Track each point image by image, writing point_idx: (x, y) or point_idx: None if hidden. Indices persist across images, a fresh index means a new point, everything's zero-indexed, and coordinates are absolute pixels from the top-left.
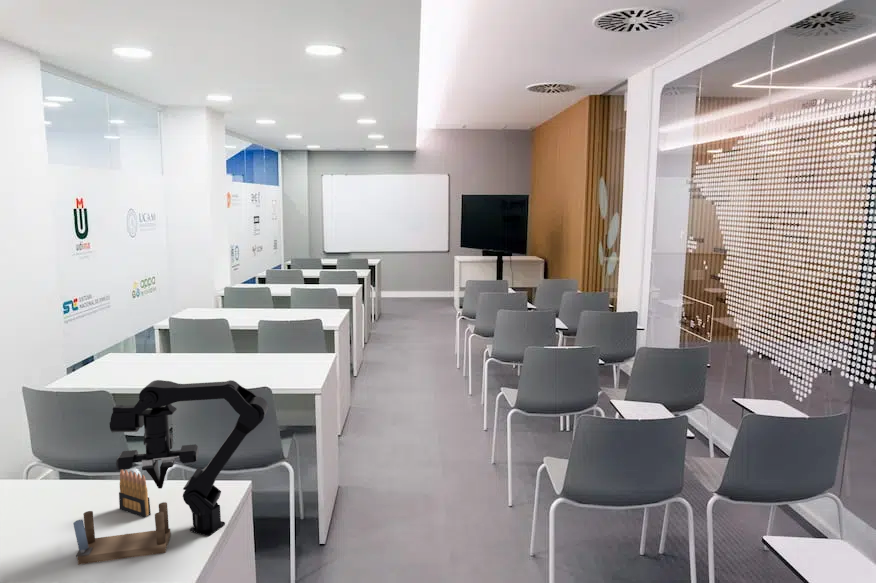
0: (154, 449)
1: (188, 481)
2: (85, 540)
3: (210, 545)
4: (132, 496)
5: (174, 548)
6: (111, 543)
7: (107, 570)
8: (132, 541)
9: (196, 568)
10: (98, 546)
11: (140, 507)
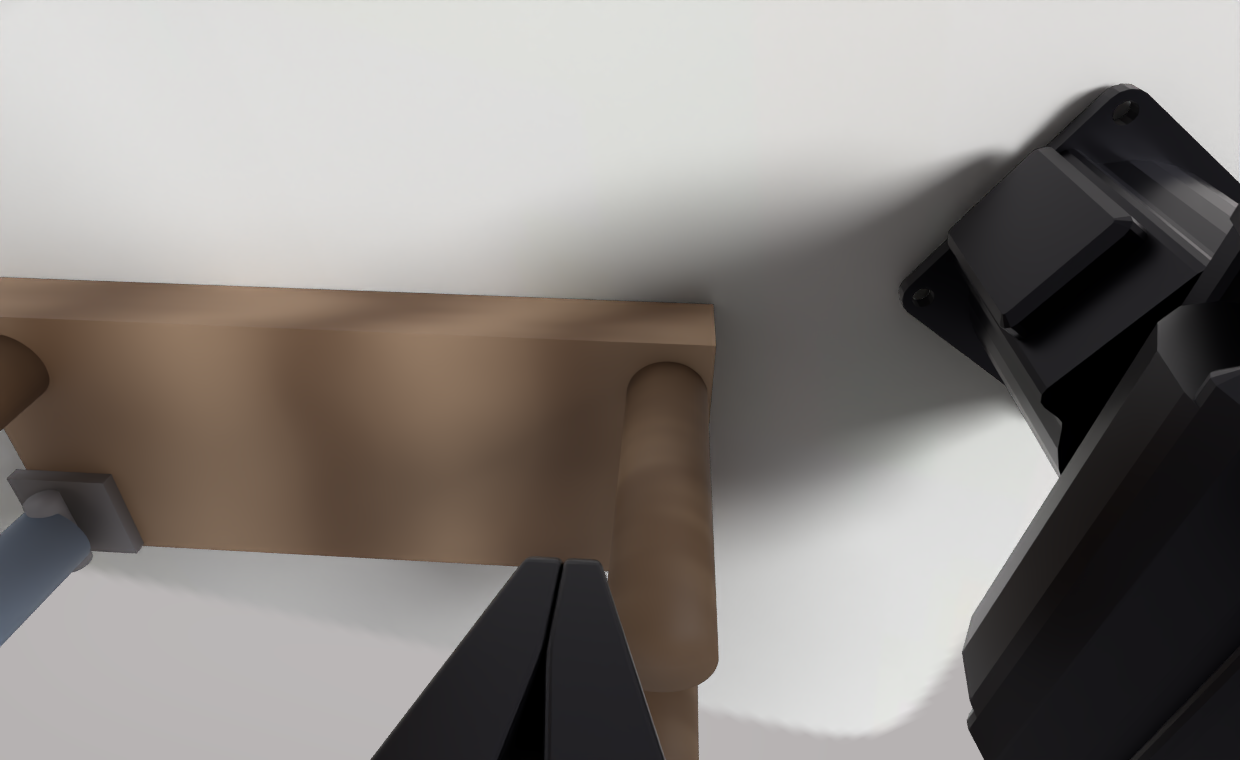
0: None
1: (1233, 755)
2: (31, 610)
3: None
4: None
5: (758, 492)
6: (229, 444)
7: (350, 594)
8: (405, 463)
9: (900, 706)
10: (140, 457)
11: None
